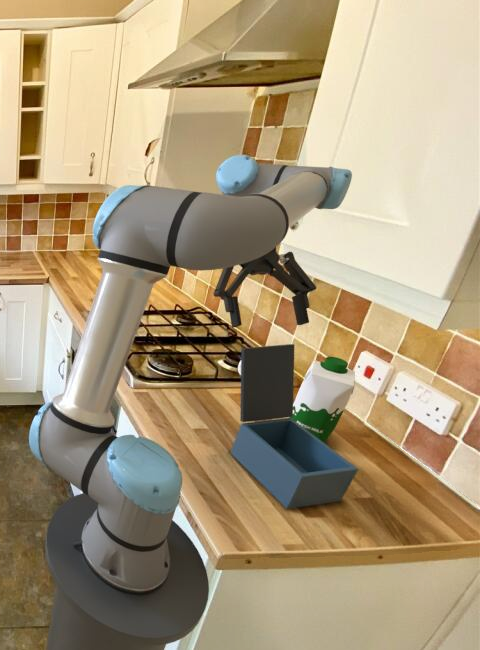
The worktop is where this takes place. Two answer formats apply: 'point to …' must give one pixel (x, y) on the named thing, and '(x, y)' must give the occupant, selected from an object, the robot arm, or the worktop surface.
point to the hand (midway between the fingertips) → (269, 325)
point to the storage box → (292, 463)
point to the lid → (267, 382)
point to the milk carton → (323, 396)
